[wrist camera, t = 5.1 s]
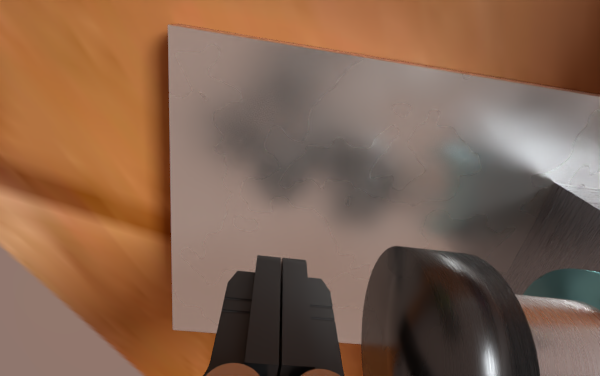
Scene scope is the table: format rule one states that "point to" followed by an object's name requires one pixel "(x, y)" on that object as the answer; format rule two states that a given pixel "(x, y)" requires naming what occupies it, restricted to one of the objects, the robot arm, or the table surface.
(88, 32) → the table surface
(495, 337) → the shaft
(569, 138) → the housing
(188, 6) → the table surface
